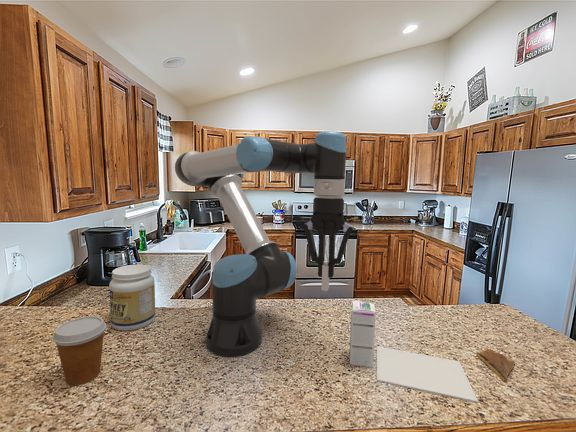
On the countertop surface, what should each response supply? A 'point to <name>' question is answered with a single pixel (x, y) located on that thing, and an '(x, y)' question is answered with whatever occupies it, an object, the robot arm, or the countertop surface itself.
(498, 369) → the shard
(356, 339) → the syrup box
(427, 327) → the countertop surface
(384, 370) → the mat
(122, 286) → the supplement tub
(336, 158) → the robot arm
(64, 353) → the disposable coffee cup
